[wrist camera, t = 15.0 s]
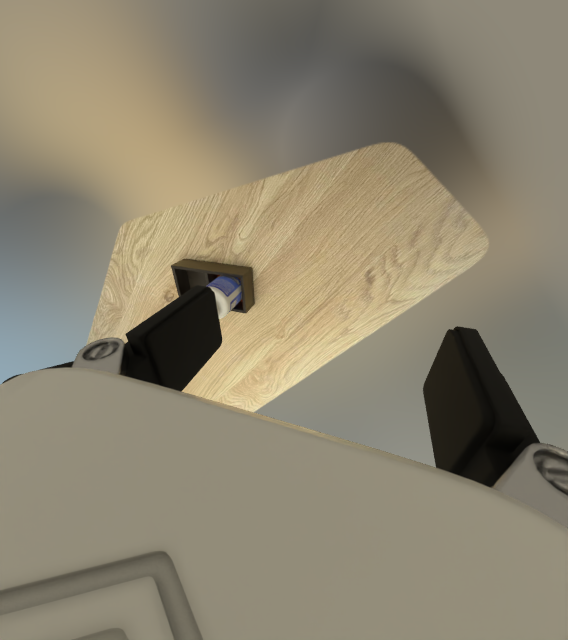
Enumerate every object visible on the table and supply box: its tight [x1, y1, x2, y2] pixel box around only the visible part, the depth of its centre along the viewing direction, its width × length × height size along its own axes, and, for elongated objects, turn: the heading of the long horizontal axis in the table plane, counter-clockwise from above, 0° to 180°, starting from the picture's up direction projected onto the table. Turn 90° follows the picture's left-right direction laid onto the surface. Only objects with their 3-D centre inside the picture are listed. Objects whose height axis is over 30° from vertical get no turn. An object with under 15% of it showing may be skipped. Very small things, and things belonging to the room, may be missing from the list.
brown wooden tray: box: [171, 259, 254, 313], centre depth 45 cm, size 7×14×4 cm, turn 90°
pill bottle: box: [206, 275, 242, 319], centre depth 41 cm, size 5×5×10 cm
